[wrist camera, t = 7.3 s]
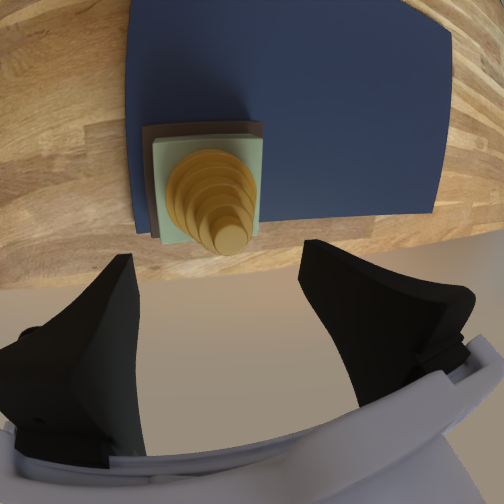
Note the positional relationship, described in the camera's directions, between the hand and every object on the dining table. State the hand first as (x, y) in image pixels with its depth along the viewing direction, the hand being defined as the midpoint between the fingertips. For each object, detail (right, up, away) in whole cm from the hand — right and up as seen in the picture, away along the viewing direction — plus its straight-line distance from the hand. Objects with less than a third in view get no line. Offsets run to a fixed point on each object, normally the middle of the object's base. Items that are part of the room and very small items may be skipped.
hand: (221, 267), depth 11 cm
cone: (-1, +4, +3) cm, 5 cm away
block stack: (-2, +6, +7) cm, 9 cm away
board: (+7, +14, +7) cm, 17 cm away
